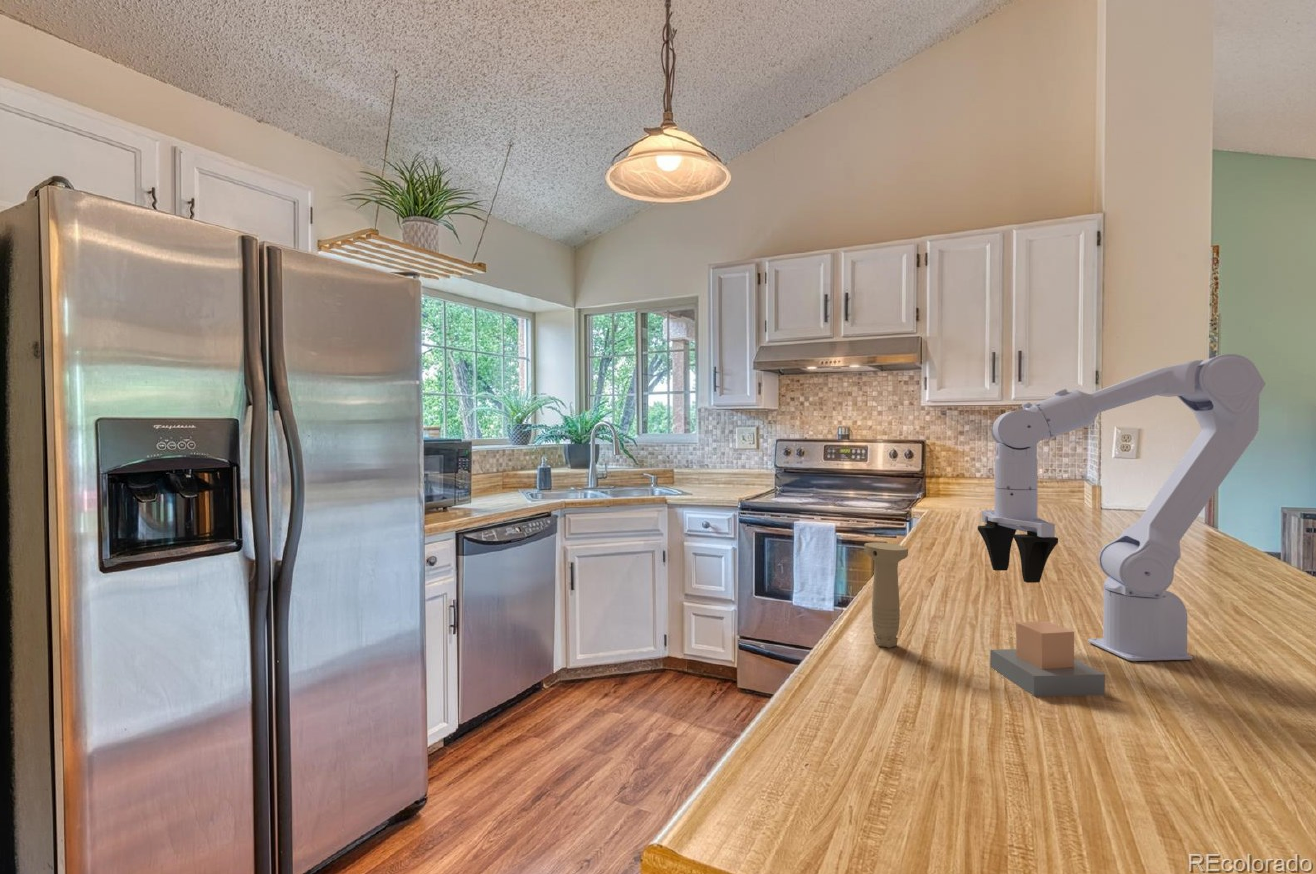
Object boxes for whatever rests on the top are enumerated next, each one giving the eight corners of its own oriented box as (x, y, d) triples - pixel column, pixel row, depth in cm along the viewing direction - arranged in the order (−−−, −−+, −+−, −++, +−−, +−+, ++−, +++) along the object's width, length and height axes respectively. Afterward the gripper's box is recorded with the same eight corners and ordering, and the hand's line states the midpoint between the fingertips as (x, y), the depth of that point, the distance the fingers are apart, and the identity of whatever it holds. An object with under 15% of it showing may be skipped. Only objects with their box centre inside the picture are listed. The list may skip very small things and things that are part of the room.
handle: (892, 654, 88) (892, 551, 88) (857, 641, 94) (858, 544, 94) (914, 648, 91) (914, 548, 90) (879, 635, 96) (879, 541, 96)
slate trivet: (1053, 669, 84) (1053, 648, 84) (1104, 698, 75) (1104, 674, 75) (990, 671, 83) (990, 649, 83) (1034, 700, 74) (1034, 676, 74)
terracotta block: (1047, 654, 82) (1047, 621, 82) (1074, 667, 77) (1074, 631, 77) (1016, 656, 81) (1016, 622, 81) (1041, 669, 76) (1041, 633, 76)
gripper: (964, 484, 101) (964, 565, 101) (1021, 493, 87) (1020, 588, 87) (1005, 483, 101) (1005, 565, 102) (1069, 493, 87) (1068, 587, 87)
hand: (1015, 575), depth 94 cm, fingers open, 7 cm apart
